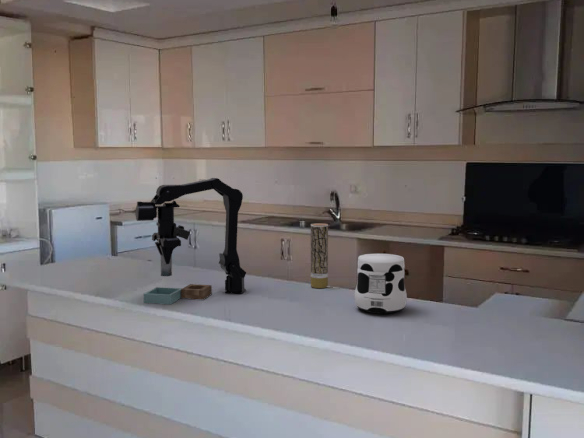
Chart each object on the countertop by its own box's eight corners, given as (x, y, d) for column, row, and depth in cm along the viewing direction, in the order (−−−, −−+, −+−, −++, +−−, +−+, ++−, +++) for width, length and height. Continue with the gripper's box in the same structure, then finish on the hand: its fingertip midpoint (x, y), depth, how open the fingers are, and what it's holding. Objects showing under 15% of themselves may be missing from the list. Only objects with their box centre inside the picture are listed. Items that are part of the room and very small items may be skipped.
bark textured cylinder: (326, 289, 221) (326, 225, 218) (309, 288, 222) (309, 225, 219) (328, 285, 228) (329, 223, 225) (312, 284, 229) (312, 223, 226)
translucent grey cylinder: (173, 274, 206) (173, 254, 206) (169, 276, 203) (168, 256, 202) (163, 273, 207) (163, 253, 207) (158, 276, 203) (158, 255, 203)
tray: (182, 297, 209) (182, 288, 209) (170, 304, 199) (170, 295, 199) (156, 295, 212) (156, 287, 211) (143, 302, 202) (143, 293, 201)
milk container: (389, 301, 202) (390, 251, 200) (416, 313, 186) (417, 259, 184) (345, 306, 196) (346, 254, 194) (370, 319, 180) (370, 263, 178)
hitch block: (211, 294, 214) (211, 285, 213) (203, 299, 205) (203, 290, 205) (190, 293, 216) (190, 284, 215) (181, 298, 207) (180, 289, 207)
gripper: (195, 222, 198) (195, 265, 200) (181, 216, 215) (181, 257, 216) (163, 223, 193) (163, 268, 195) (151, 217, 210) (151, 259, 211)
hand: (166, 263), depth 204 cm, fingers closed on translucent grey cylinder, 4 cm apart
